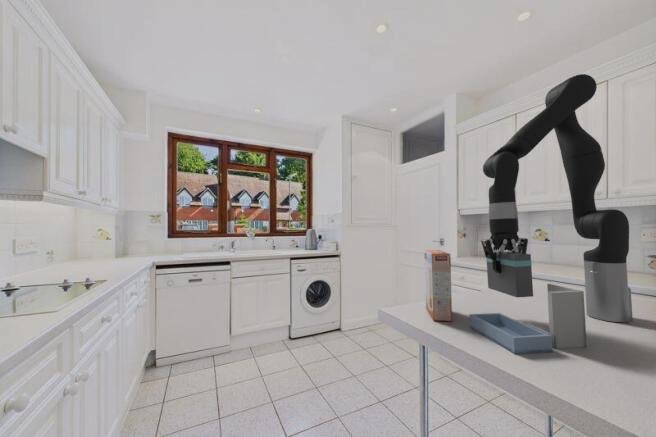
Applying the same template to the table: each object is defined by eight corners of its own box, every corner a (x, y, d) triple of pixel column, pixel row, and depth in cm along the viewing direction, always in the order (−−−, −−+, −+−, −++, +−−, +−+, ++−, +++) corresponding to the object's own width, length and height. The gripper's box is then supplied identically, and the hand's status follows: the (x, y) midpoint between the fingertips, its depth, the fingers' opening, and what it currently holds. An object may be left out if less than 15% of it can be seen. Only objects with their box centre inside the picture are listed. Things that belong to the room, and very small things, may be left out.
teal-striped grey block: (502, 287, 88) (500, 250, 88) (533, 296, 76) (530, 254, 76) (488, 287, 87) (485, 251, 88) (516, 297, 75) (514, 255, 76)
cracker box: (453, 322, 80) (451, 253, 81) (432, 321, 82) (430, 253, 82) (443, 308, 94) (441, 249, 95) (425, 307, 95) (423, 249, 96)
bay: (551, 332, 72) (549, 283, 72) (586, 346, 63) (583, 291, 63) (523, 333, 71) (521, 284, 72) (554, 348, 62) (551, 292, 63)
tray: (499, 325, 77) (499, 312, 77) (552, 351, 61) (551, 335, 61) (469, 326, 76) (469, 314, 77) (514, 354, 60) (513, 337, 60)
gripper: (489, 217, 79) (492, 275, 78) (534, 216, 80) (538, 272, 79) (473, 218, 86) (476, 271, 86) (515, 217, 87) (518, 269, 87)
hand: (506, 271), depth 83 cm, fingers closed on teal-striped grey block, 5 cm apart
